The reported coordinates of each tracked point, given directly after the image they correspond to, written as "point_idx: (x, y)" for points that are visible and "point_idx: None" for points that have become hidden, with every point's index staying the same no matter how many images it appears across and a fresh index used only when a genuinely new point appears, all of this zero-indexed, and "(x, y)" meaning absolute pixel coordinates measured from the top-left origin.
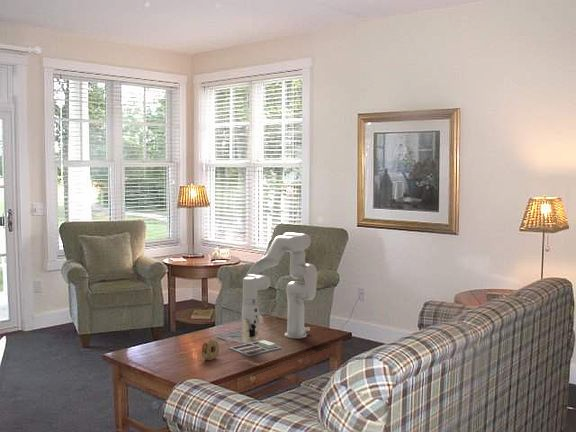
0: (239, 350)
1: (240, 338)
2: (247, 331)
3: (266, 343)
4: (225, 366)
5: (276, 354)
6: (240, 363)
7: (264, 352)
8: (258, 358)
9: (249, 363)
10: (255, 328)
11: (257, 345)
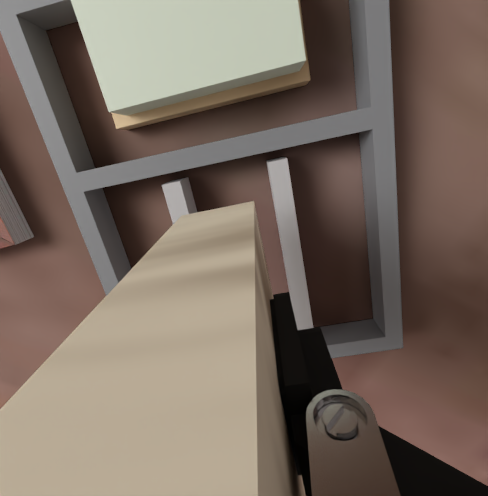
0: None
1: None
2: (301, 482)
3: (227, 52)
4: None
5: (425, 48)
6: (433, 402)
7: (391, 180)
8: (419, 259)
9: (473, 359)
10: (364, 404)
11: (176, 151)
